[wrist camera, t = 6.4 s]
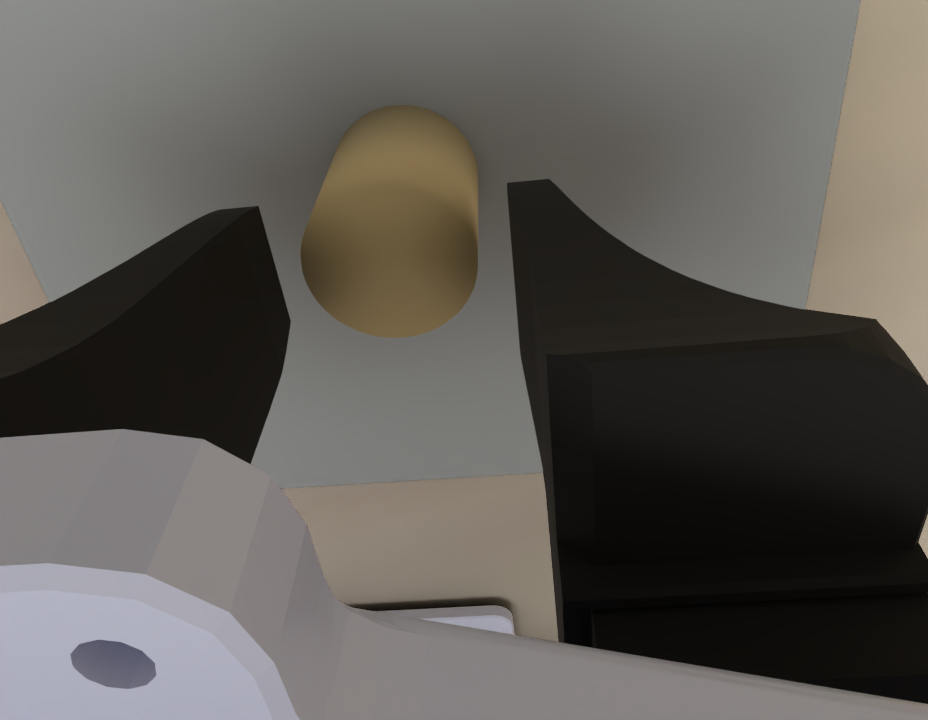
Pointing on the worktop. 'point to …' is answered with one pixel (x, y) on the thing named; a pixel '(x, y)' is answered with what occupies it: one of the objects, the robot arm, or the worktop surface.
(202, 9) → the lid
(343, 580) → the worktop surface
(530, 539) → the worktop surface
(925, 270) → the worktop surface
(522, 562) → the worktop surface
